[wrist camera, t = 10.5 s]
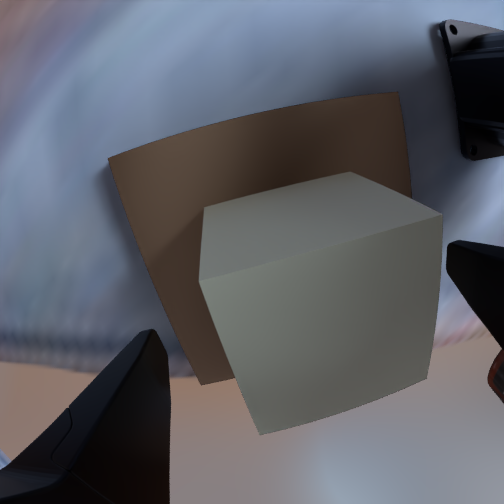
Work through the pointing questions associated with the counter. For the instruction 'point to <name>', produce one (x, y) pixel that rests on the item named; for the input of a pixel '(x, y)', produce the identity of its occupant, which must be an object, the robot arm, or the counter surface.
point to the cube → (322, 295)
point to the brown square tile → (244, 190)
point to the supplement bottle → (497, 375)
